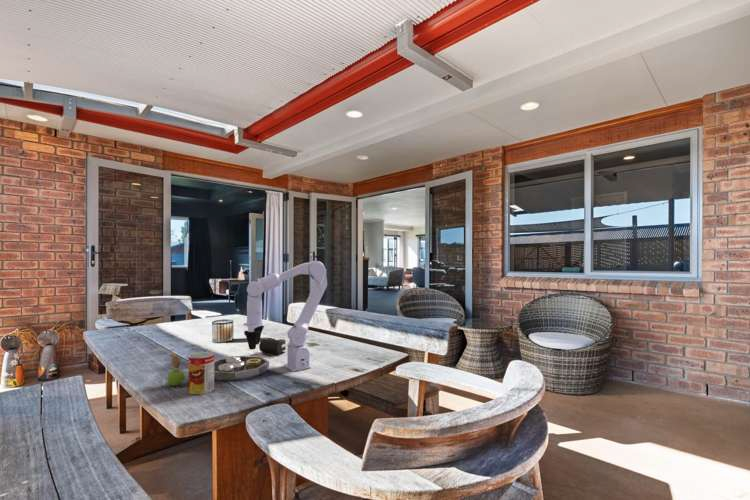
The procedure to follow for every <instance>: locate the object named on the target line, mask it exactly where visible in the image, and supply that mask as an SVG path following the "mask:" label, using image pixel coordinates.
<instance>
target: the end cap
mask: <svg viewBox="0 0 750 500" xmlns="http://www.w3.org/2000/svg"><path fill="white" fill-rule="evenodd" d="M286 342H287V341H286V339H283V338H282V339H281V338H280V339H276V338H272V337H270V338H262V339H260V342H259V344H258V347H259V351H260V352H262V354H268V355H277V356H282V355H284V354H285V353H286V351H285V350H286V346H283V345H285V344H286Z"/></svg>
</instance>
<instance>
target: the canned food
mask: <svg viewBox="0 0 750 500" xmlns="http://www.w3.org/2000/svg"><path fill="white" fill-rule="evenodd" d="M187 357H188V362H187V363H188V369H187V371H188V373H187V374H188V375H187V378H188V379H187V380H188V381H187V393H188V394H189V393H190V394H189V395H192V394H200V395H205V394H208V392H209V393H212V392H213V391H214V390H215V380H214V361H215V352H213V351H205V350H204V351H197V352H193V353H191V354H189V355H188V356H187ZM212 390H213V391H212ZM204 393H205V394H204Z"/></svg>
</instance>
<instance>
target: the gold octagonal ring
mask: <svg viewBox="0 0 750 500" xmlns="http://www.w3.org/2000/svg"><path fill="white" fill-rule="evenodd" d="M260 366H261V359H250V360H247V361H246V370H249V369H255V368H258V367H260Z"/></svg>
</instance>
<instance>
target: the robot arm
mask: <svg viewBox="0 0 750 500" xmlns="http://www.w3.org/2000/svg"><path fill="white" fill-rule="evenodd" d="M298 275H309V277H310V278H311V280H312V283H313V284H314V285H313V287H312V289H311V291H310V293H309V295H308V298H307V299H306V301H305V304H304V306H303V308H302V310H301V312H300V314H299V316H298V319H297V320H296V321H295V322H294V324H293V325H292V326H291V327H290V328H289V329H288V331H287V338H288V339H289V341H288V343H287V363H284V364H283V367H284V368H287V369H288V370H291V371H292V372H295V371H301V370H305V369H310V368H312V366H311V365H310V351H309V349H308V348H307V346H306V345H307V344H306V340H307V333H308V331H309V325H310V322H311V320H312V318H313V317H314V315H315V312H316V310H317V308H318V306H319V304H320V301H321V299H322V297H323V296H324V293H325V291H326V289H327V287H328V279H327V269H326V267H325V264H324V263H323V262H322V261H319V260H311V261H309V262H304V263H300V264H298V265H296V266H293V267H292V268H290V269H287V270H286V271H283V272H282V273H276V272H273V273H272V272H269V273H268V274H267V275H266V276H264V277H261V278H256V281H251V282H249V283H248V285H247V287H246V292H247V295H246V296H247V297H246V299H247V300H246V322H244V323H243V326H246V328H247V330H243V334H244V336H245V338H246V341H247V344H248V345H247V346H248V349H249V350H255V349H256V347H257V345H258V346H259V344H260V342H261V335H262V332H263V330H264V328H265V326H264V325H263V300H262V295H263V293H267V292H269V291H271V290H273V289H276V288H278V287H280V286H281V284H282V282H284V281H286V280H289V279H292V278H294V277H297V276H298Z"/></svg>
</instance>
